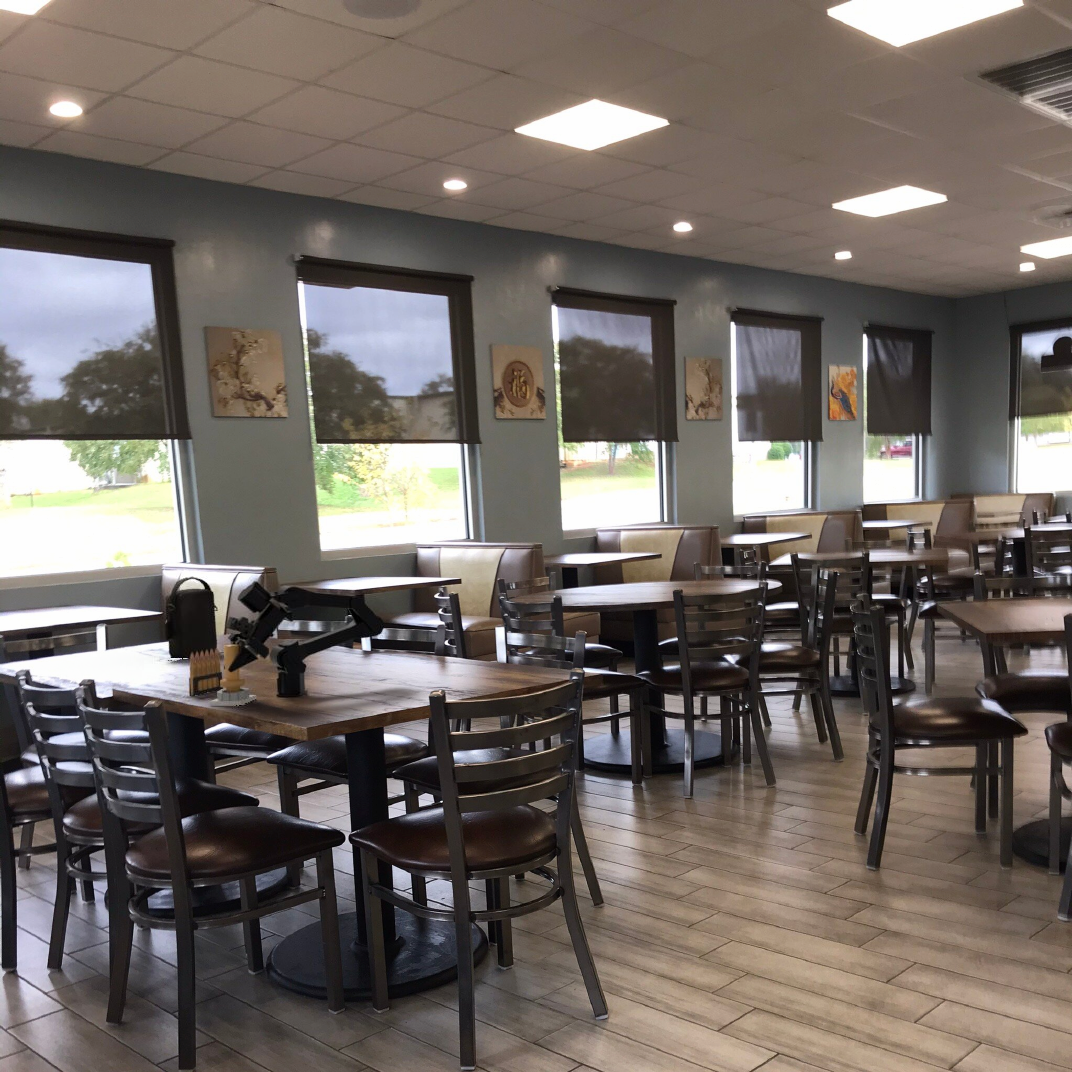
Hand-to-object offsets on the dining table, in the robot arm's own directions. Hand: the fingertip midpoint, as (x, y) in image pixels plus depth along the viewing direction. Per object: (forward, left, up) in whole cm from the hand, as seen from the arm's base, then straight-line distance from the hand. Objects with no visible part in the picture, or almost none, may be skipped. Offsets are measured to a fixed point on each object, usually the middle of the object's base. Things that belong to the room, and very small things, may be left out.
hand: (227, 670), depth 272 cm
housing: (-1, -1, -9) cm, 9 cm away
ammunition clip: (+15, -15, -9) cm, 23 cm away
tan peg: (-1, -1, -7) cm, 7 cm away
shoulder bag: (+58, -83, -9) cm, 101 cm away
